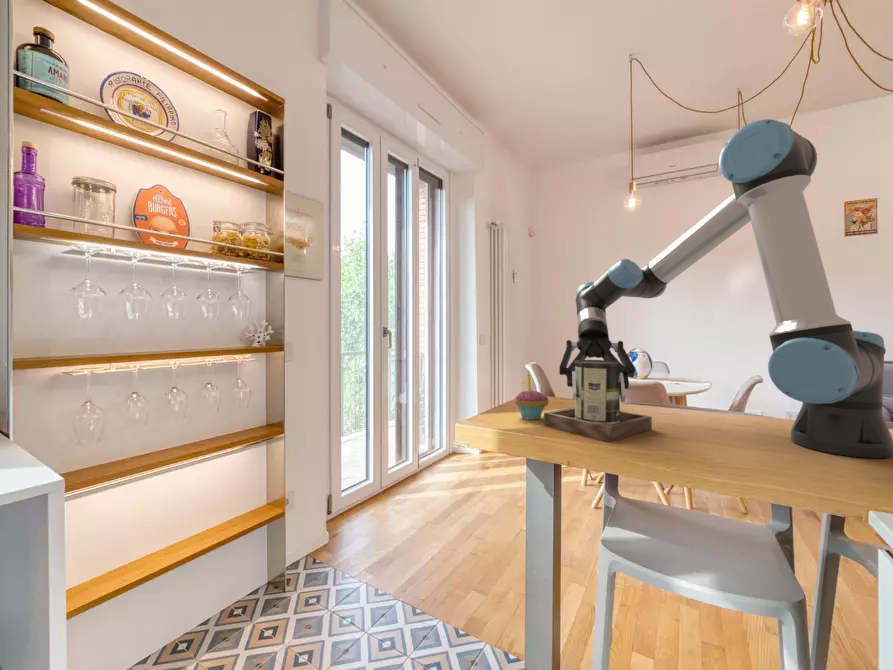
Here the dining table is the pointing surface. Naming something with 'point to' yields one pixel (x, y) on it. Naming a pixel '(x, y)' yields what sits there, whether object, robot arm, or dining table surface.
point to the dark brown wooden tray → (626, 427)
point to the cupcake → (531, 402)
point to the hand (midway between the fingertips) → (598, 397)
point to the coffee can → (597, 391)
